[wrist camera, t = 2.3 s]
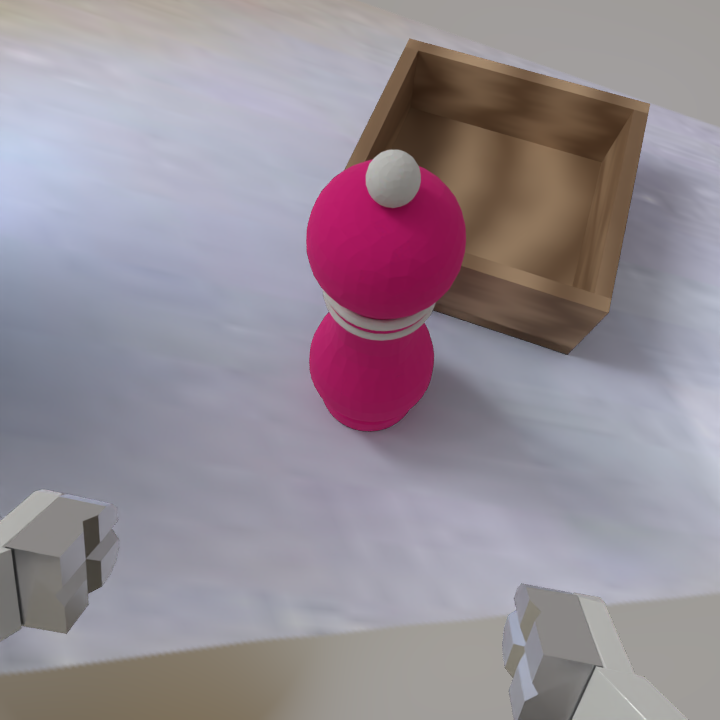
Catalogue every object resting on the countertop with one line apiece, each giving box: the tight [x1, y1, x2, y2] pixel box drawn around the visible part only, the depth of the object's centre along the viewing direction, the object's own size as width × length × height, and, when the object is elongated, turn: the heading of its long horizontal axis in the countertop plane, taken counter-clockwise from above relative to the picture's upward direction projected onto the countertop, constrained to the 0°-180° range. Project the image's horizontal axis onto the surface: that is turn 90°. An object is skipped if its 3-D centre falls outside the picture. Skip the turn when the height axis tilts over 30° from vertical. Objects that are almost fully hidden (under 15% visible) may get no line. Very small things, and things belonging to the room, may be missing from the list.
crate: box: [345, 39, 650, 355], centre depth 37 cm, size 18×18×6 cm
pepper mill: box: [306, 150, 466, 431], centre depth 25 cm, size 7×7×20 cm
